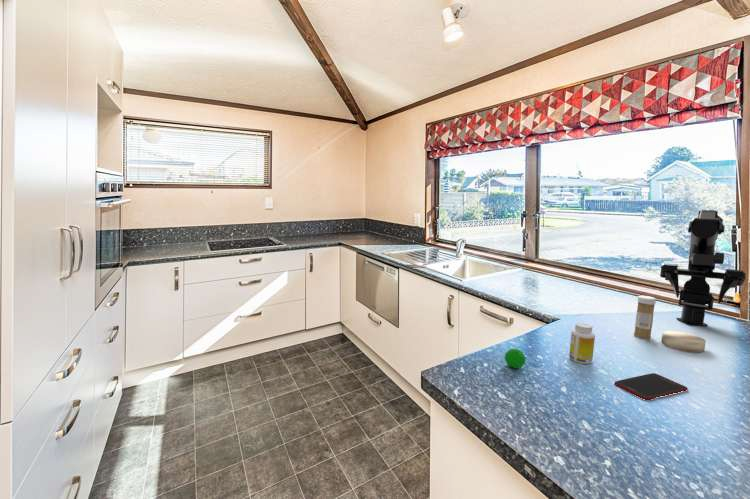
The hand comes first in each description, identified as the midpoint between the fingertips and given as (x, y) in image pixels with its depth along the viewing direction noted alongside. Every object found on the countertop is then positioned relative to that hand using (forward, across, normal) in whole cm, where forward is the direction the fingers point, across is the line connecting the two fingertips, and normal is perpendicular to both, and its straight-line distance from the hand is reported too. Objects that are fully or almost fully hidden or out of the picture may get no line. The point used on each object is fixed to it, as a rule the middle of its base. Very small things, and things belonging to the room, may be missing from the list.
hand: (697, 299), depth 104 cm
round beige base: (+13, -2, +7) cm, 15 cm away
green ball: (+39, -37, -34) cm, 63 cm away
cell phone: (+34, -9, -24) cm, 42 cm away
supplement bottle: (+30, -24, -20) cm, 44 cm away
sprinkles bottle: (+12, -12, +8) cm, 19 cm away
